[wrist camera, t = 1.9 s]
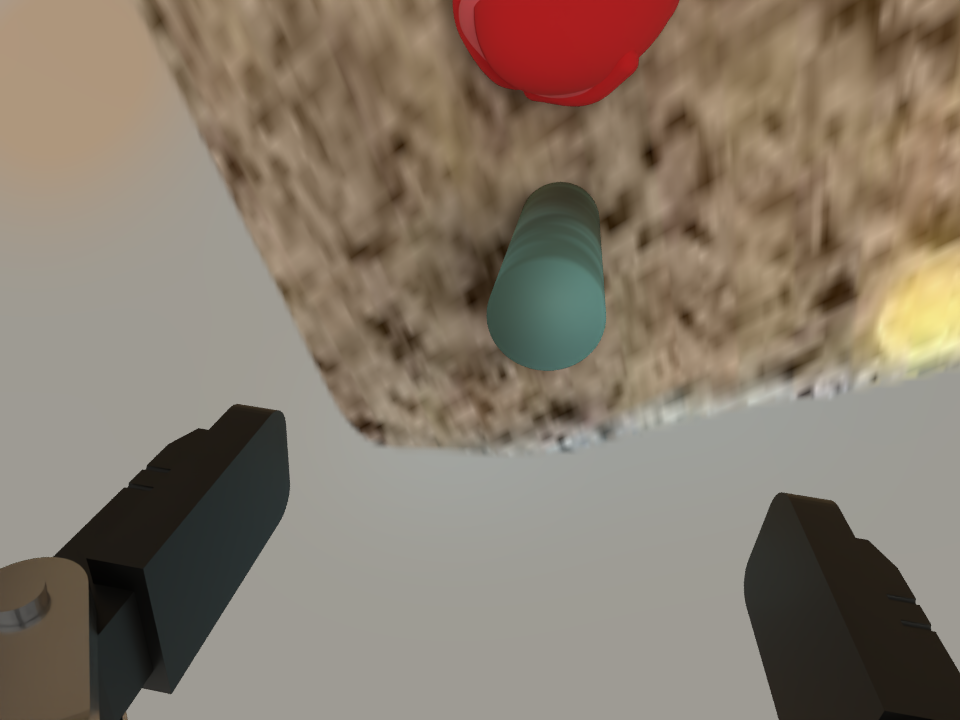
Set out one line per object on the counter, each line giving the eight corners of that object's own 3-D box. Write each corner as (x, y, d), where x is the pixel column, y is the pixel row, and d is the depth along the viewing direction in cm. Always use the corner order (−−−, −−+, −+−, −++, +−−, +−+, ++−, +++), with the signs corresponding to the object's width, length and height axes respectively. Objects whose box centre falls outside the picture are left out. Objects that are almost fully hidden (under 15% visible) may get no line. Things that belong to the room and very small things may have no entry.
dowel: (605, 187, 25) (616, 269, 16) (592, 264, 26) (594, 378, 17) (525, 177, 25) (492, 253, 16) (516, 254, 27) (481, 361, 18)
